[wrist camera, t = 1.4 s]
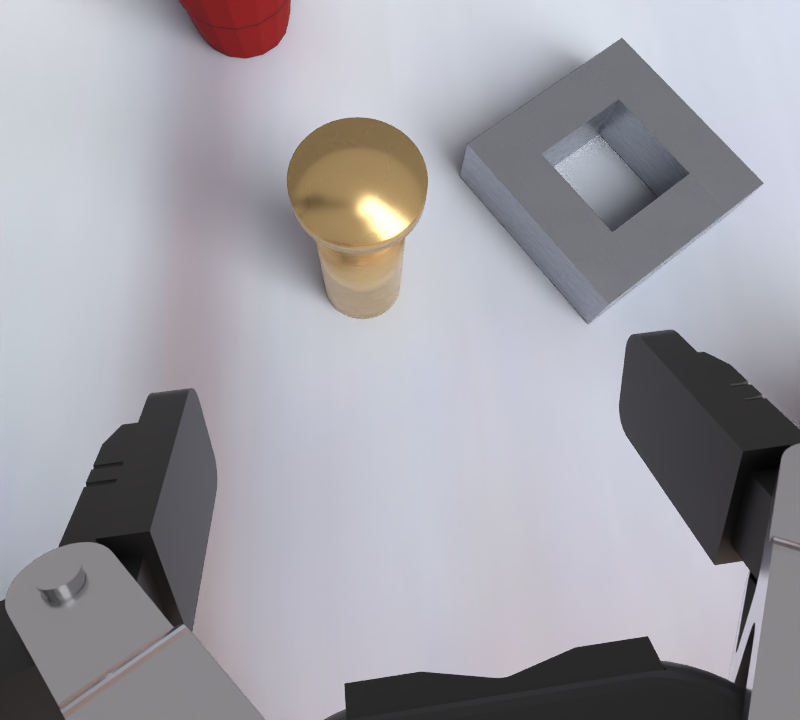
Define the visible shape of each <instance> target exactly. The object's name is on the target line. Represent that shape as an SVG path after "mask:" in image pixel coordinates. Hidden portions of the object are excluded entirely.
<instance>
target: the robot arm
mask: <svg viewBox="0 0 800 720" xmlns="http://www.w3.org/2000/svg"><path fill="white" fill-rule="evenodd" d="M619 413H620V419H621V424H622V427H623V430H624V432H625V434H626V436H627V437H628V439H629V440H630V442H631V443H632V445H633V446H634V448H635V449H636V451H637V452H638V454H639V455H640V457H641V458H642V459H643V461H644V462H645V464H646V465H647V467H648V468H649V470H650V471H651V473H652V474H653V476H654V477H655V478H656V480H657V481H658V483H659V484H660V486H661V487H662V489H663V490H664V492H665V493H666V495H667V496H668V498H669V499H670V500H671V502H672V503H673V505H674V506H675V508H676V509H677V511H678V512H679V514H680V515H681V517H682V518H683V519H684V521H685V522H686V524H687V525H688V527H689V528H690V530H691V531H692V533H693V534H694V536H695V537H696V539H697V540H698V541H699V543H700V544H701V546H702V547H703V549H704V550H705V552H706V553H707V555H708V556H709V558H710V559H711V560H712V562H713V563H714V565H719V564H726V563H732V562H739V561H743V562H744V563H745V564H746V566H747V567H748V568H749V572H748V576H747V579H746V583H745V588H744V593H743V599H742V604H741V610H740V615H739V621H738V627H737V632H736V638H735V643H734V649H733V655H732V660H731V666H730V671H729V676H728V680H727V679H725V678H722V677H720V676H717V675H715V674H713V673H710V672H708V671H704V670H701V669H698V668H695V667H691V666H688V665H683V664H678V663H673V662H668V661H660V659H659V657H658V655H657V653H656V651H655V649H654V647H653V645H652V644H651V642H650V640H649V638H648V636H647V637H640V638H634V639H627V640H621V641H615V642H608V643H602V644H595V645H589V646H582V647H576V648H573V649H571V650H569V651H566V652H564V653H562V654H559V655H557V656H555V657H553V658H550V659H548V660H546V661H544V662H541V663H539V664H537V665H534V666H532V667H530V668H528V669H525V670H523V671H521V672H518V673H516V674H514V675H512V676H509V677H505V678H488V677H476V676H464V675H453V674H441V673H430V672H416V673H409V674H403V675H397V676H390V677H384V678H377V679H371V680H365V681H358V682H352V683H345V702H346V709H345V710H342V711H340V712H338V713H336V714H334V715H332V716H330V717H328V718H326V719H325V720H800V430H799V429H798V428H797V427H796V426H795V425H794V424H793V423H792V422H791V421H790V420H789V419H787V418H786V417H785V416H784V415H783V414H782V413H781V412H780V411H779V410H778V409H777V408H776V407H775V406H774V405H773V404H771V403H770V402H769V401H768V400H767V399H766V398H764V399H763V398H762V394H761V393H760V392H759V391H758V390H757V389H755V388H754V387H753V386H752V385H748V381H747V380H746V379H745V378H744V377H743V376H742V375H741V374H739V373H738V372H737V371H736V370H735V369H734V368H733V367H732V366H731V365H730V364H728V363H726V362H724V361H722V360H720V359H718V358H716V357H714V356H712V355H709V354H707V353H705V352H699V353H698V352H697V351H696V350H695V349H694V348H693V347H692V346H691V345H689V344H688V343H687V342H686V341H685V340H684V339H683V338H682V337H681V336H680V335H679V334H678V333H677V332H676V331H674V330H664V331H656V332H648V333H640V334H633V335H631V336H630V337H629V339H628V341H627V344H626V351H625V359H624V368H623V376H622V384H621V393H620V401H619ZM93 466H94V469H93V470H91V472H90V475H89V477H88V479H87V481H86V487H84V488H83V491H82V493H81V495H80V498H79V500H78V502H77V505H76V507H75V509H74V512H73V514H72V516H71V519H70V521H69V523H68V526H67V528H66V530H65V533H64V535H63V537H62V540H61V542H60V544H59V547H58V548H56V549H54V550H52V551H50V552H48V553H46V554H44V555H42V556H40V557H39V558H37V559H36V560H34V561H33V562H32V563H30V564H29V565H28V566H27V567H25V568H24V569H23V570H22V571H21V572H20V573H19V574H18V576H17V577H16V578H15V579H14V581H13V582H12V584H11V585H10V587H9V589H8V592H7V594H6V599H4V600H2V601H0V720H265V719H264V718H263V716H262V715H261V714H260V713H259V712H258V710H257V709H256V708H255V707H254V706H253V705H252V703H251V702H250V701H249V700H248V699H247V697H246V696H245V695H244V694H243V693H242V691H241V690H240V689H239V688H238V687H237V685H236V684H235V683H234V682H233V681H232V679H231V678H230V677H229V676H228V675H227V673H226V672H225V671H224V670H223V669H222V667H221V666H220V665H219V664H218V663H217V661H216V660H215V659H214V658H213V657H212V656H211V654H210V653H209V652H208V651H207V650H206V648H205V647H204V646H203V645H202V644H201V642H200V641H199V640H198V639H197V638H196V636H195V635H194V634H193V633H192V630H193V624H194V618H195V612H196V606H197V601H198V595H199V589H200V583H201V577H202V572H203V566H204V560H205V554H206V549H207V543H208V537H209V531H210V525H211V520H212V514H213V508H214V502H215V496H216V490H217V469H216V461H215V456H214V453H213V449H212V445H211V442H210V438H209V434H208V431H207V427H206V424H205V420H204V416H203V413H202V409H201V406H200V402H199V399H198V396H197V393H196V391H195V390H194V389H193V388H190V389H182V390H174V391H166V392H158V393H151V394H149V396H148V398H147V400H146V403H145V406H144V408H143V411H142V414H141V416H140V419H139V422H138V423H132V424H124V425H122V426H121V427H119V428H118V429H117V430H116V431H115V432H114V433H113V434H112V435H111V436H110V437H109V438H108V439H107V440H106V441H105V442H104V443H103V444H102V447H101V449H100V451H99V454H98V456H97V458H96V461H95V463H94V465H93Z"/></svg>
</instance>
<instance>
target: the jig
mask: <svg viewBox="0 0 800 720" xmlns="http://www.w3.org/2000/svg"><path fill="white" fill-rule="evenodd" d="M598 134H600V135H601V136H602V137H603V138H604V139H605V140H606V141H607V143H608V144H609V145H610V146H611V147H612V148H613V149H614V150H615V151H616V152H617V153H618V154H619V155H620V156H621V158H622V159H623V160H624V161H625V162H626V163H627V164H628V165H629V166H630V167H631V168H632V169H633V170H634V171H635V173H636V174H637V175H638V176H639V177H640V178H641V179H642V180H643V181H644V182H645V183H646V184H647V185H648V186H649V188H650V189H651V190H652V191H653V192H654V193H655V194H656V195H657V196H658V198H657V199H656V200H654V201H653V202H652V203H650V204H649V205H648V206H646V207H645V208H644V209H642V210H641V211H640V212H638V213H637V214H636V215H634V216H633V217H632V218H630V219H629V220H628V221H626V222H625V223H624V224H622V225H621V226H620V227H619V228H617V229H616V230H615V231H613V232H612V231H611V230H610V229H609V228H608V227H607V226H606V225H605V223H604V222H603V221H602V220H601V219H600V218H599V217H598V216H597V215H596V213H595V212H594V211H593V210H592V209H591V208H590V207H589V206H588V205H587V204H586V202H585V201H584V200H583V199H582V198H581V197H580V196H579V195H578V194H577V192H576V191H575V190H574V189H573V188H572V187H571V186H570V185H569V184H568V183H567V181H566V180H565V179H564V178H563V177H562V176H561V175H560V174H559V173H558V172H557V170H556V169H555V168H554V167H553V166H555V165H556V164H558V163H559V162H560V161H562V160H563V159H565V158H566V157H567V156H569V155H570V154H572V153H573V152H574V151H576V150H577V149H579V148H580V147H581V146H583V145H584V144H585V143H587V142H588V141H590V140H591V139H592V138H594V137H595V136H597V135H598ZM460 177H461V178H462V179H463V180H464V181H465V183H466V184H467V185H468V186H469V187H470V188H471V189H472V191H473V192H474V193H475V194H476V195H477V196H478V198H479V199H480V200H481V201H482V202H483V203H484V204H485V206H486V207H487V208H488V209H489V210H490V211H491V212H492V214H493V215H494V216H495V217H496V218H497V219H498V221H499V222H500V223H501V224H502V225H503V226H504V227H505V229H506V230H507V231H508V232H509V233H510V234H511V235H512V237H513V238H514V239H515V240H516V241H517V242H518V244H519V245H520V246H521V247H522V248H523V249H524V250H525V252H526V253H527V254H528V255H529V256H530V257H531V259H532V260H533V261H534V262H535V263H536V264H537V265H538V267H539V268H540V269H541V270H542V271H543V272H544V273H545V275H546V276H547V277H548V278H549V279H550V280H551V282H552V283H553V284H554V285H555V286H556V287H557V288H558V290H559V291H560V292H561V293H562V294H563V295H564V296H565V298H566V299H567V300H568V301H569V302H570V303H571V305H572V306H573V307H574V308H575V309H576V310H577V311H578V313H579V314H580V315H581V316H582V317H583V318H584V320H585V321H586V322H587V323H588V324H589V323H590V322H592V321H593V320H594V319H595V318H597V317H598V316H599V315H600V314H602V313H603V312H604V311H606V310H607V309H608V308H609V307H611V306H612V305H613V304H615V303H616V302H617V301H618V300H620V299H621V298H622V297H623V296H625V295H626V294H627V293H629V292H630V291H631V290H632V289H634V288H635V287H636V286H638V285H639V284H640V283H641V282H643V281H644V280H645V279H646V278H648V277H649V276H650V275H652V274H653V273H654V272H655V271H657V270H658V269H659V268H661V267H662V266H663V265H664V264H666V263H667V262H668V261H669V260H671V259H672V258H673V257H675V256H676V255H677V254H678V253H680V252H681V251H682V250H683V249H685V248H686V247H687V246H689V245H690V244H691V243H692V242H694V241H695V240H696V239H698V238H699V237H700V236H701V235H703V234H704V233H705V232H706V231H708V230H709V229H710V228H712V227H713V226H714V225H715V224H717V223H718V222H719V221H721V220H722V219H723V218H724V217H726V216H727V215H728V214H729V213H731V212H732V211H733V210H734V209H735V208H736V207H738V206H739V205H740V204H741V203H742V202H743V201H744V200H746V199H747V198H748V197H749V196H750V195H751V194H752V193H753V192H755V191H756V190H757V189H758V188H759V187H760V186H761V185H762V184H764V183H763V182H762V181H761V180H760V179H759V178H758V177H757V176H756V175H755V174H754V173H753V172H752V171H751V170H750V169H749V168H748V167H747V166H746V165H745V164H744V163H743V162H742V160H741V159H740V158H739V157H738V156H737V155H736V154H735V153H734V152H733V151H732V150H731V149H730V148H729V147H728V146H727V145H726V144H725V143H724V142H723V141H722V140H721V139H720V138H719V137H718V136H717V135H716V134H715V133H714V132H713V131H712V130H711V129H710V128H709V127H708V126H707V125H706V124H705V123H704V122H703V120H702V119H701V118H700V117H699V116H698V115H697V114H696V113H695V112H694V111H693V110H692V109H691V108H690V107H689V106H688V105H687V104H686V103H685V102H684V101H683V100H682V99H681V98H680V97H679V96H678V95H677V94H676V93H675V92H674V91H673V90H672V89H671V88H670V87H669V86H668V85H667V84H666V83H665V81H664V80H663V79H662V78H661V77H660V76H659V75H658V74H657V73H656V72H655V71H654V70H653V69H652V68H651V67H650V66H649V65H648V64H647V63H646V62H645V61H644V60H643V59H642V58H641V57H640V56H639V55H638V54H637V53H636V52H635V51H634V50H633V49H632V48H631V47H630V46H629V45H628V44H627V43H626V41H625V40H624V39H623V38H621V39H620V40H618V41H617V42H615V43H614V44H612V45H611V46H609V47H608V48H606V49H605V50H604V51H602V52H601V53H599V54H598V55H596V56H595V57H593V58H592V59H590V60H589V61H588V62H586V63H585V64H583V65H582V66H580V67H579V68H577V69H576V70H574V71H573V72H572V73H570V74H569V75H567V76H566V77H564V78H563V79H561V80H560V81H558V82H557V83H556V84H554V85H553V86H551V87H550V88H548V89H547V90H545V91H544V92H542V93H541V94H540V95H538V96H537V97H535V98H534V99H532V100H531V101H529V102H528V103H526V104H525V105H524V106H522V107H521V108H519V109H518V110H516V111H515V112H513V113H512V114H510V115H509V116H508V117H506V118H505V119H503V120H502V121H500V122H499V123H497V124H496V125H494V126H493V127H492V128H490V129H489V130H487V131H486V132H484V133H483V134H481V135H480V136H478V137H477V138H476V139H474V140H473V141H471V142H470V143H468V144H467V148H466V152H465V156H464V160H463V164H462V168H461V172H460Z"/></svg>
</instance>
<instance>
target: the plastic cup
mask: <svg viewBox="0 0 800 720" xmlns="http://www.w3.org/2000/svg"><path fill="white" fill-rule="evenodd" d="M178 1H179V2H180V3H181V4H182V6H183V7H184V8H185V9H186V11H187V12H188V14H189V16H190V18H191V19H192V21H193V23H194V24H195V26H196V28H197V29H198V31H199V32H200V33H201V34H202V36H203V37H204V38H205V39H206V40H207V41H208V43H209V44H210V45H211V46H212V47H213V48H214V49H215V50H217V51H219V52H221V53H223V54H225V55H228V56H231V57H240V58H249V57H253V56H258V55H262V54H264V53H266V52H267V51H269V50H271V49H272V48H274V47H275V46H277V45H278V43H279V42H280V40H281V39H282V37H283V36H284V35H285V33H286V29H287V26H288V21H289V15H290V2H291V0H178Z"/></svg>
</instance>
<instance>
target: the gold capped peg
mask: <svg viewBox="0 0 800 720" xmlns="http://www.w3.org/2000/svg"><path fill="white" fill-rule="evenodd" d="M287 187H288V193H289V197H290V201H291V205H292V208H293V211H294V214H295V216H296V218H297V220H298V222H299V224H300V225H301V226H302V228H303V229H304V230H305V231H306V232H307V234H308V235H309V236H311V237H312V238H313V239H314V240H315V241H316V244H317V249H318V254H319V259H320V264H321V269H322V274H323V278H324V283H325V288H326V293H327V296H328V298H329V300H330V301H331V303H332V304H333V306H334V307H335V308H336V309H337V310H339V311H340V312H341V313H343V314H345V315H347V316H350V317H353V318H359V319H367V318H373V317H376V316H378V315H380V314H382V313H384V312H385V311H387V310H388V309H389V308H390V307H391V306H392V305H393V303H394V302H395V300H396V298H397V296H398V294H399V290H400V282H401V272H402V263H403V253H404V244H405V237H406V236H407V235H408V234H409V233H410V232H411V231H412V230H413V228H414V227H415V226H416V224H417V223H418V221H419V219H420V217H421V215H422V212H423V209H424V205H425V201H426V194H427V187H428V176H427V169H426V165H425V162H424V160H423V157H422V155H421V153H420V151H419V150H418V148H417V147H416V146H415V144H414V143H413V142H412V141H411V140H410V139H409V138H408V137H407V136H406V135H405V134H404V133H403V132H401V131H400V130H398V129H397V128H395V127H393V126H391V125H389V124H387V123H385V122H382V121H378V120H375V119H369V118H359V117H357V118H345V119H340V120H336V121H332V122H330V123H327V124H325V125H323V126H321V127H319V128H318V129H316V130H315V131H313V132H312V133H310V134H309V135H308V136H307V137H306V138H305V139H304V140H303V141H302V142H301V144H300V145H299V146H298V147H297V149H296V151H295V152H294V154H293V156H292V159H291V161H290V164H289V168H288V175H287Z"/></svg>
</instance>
